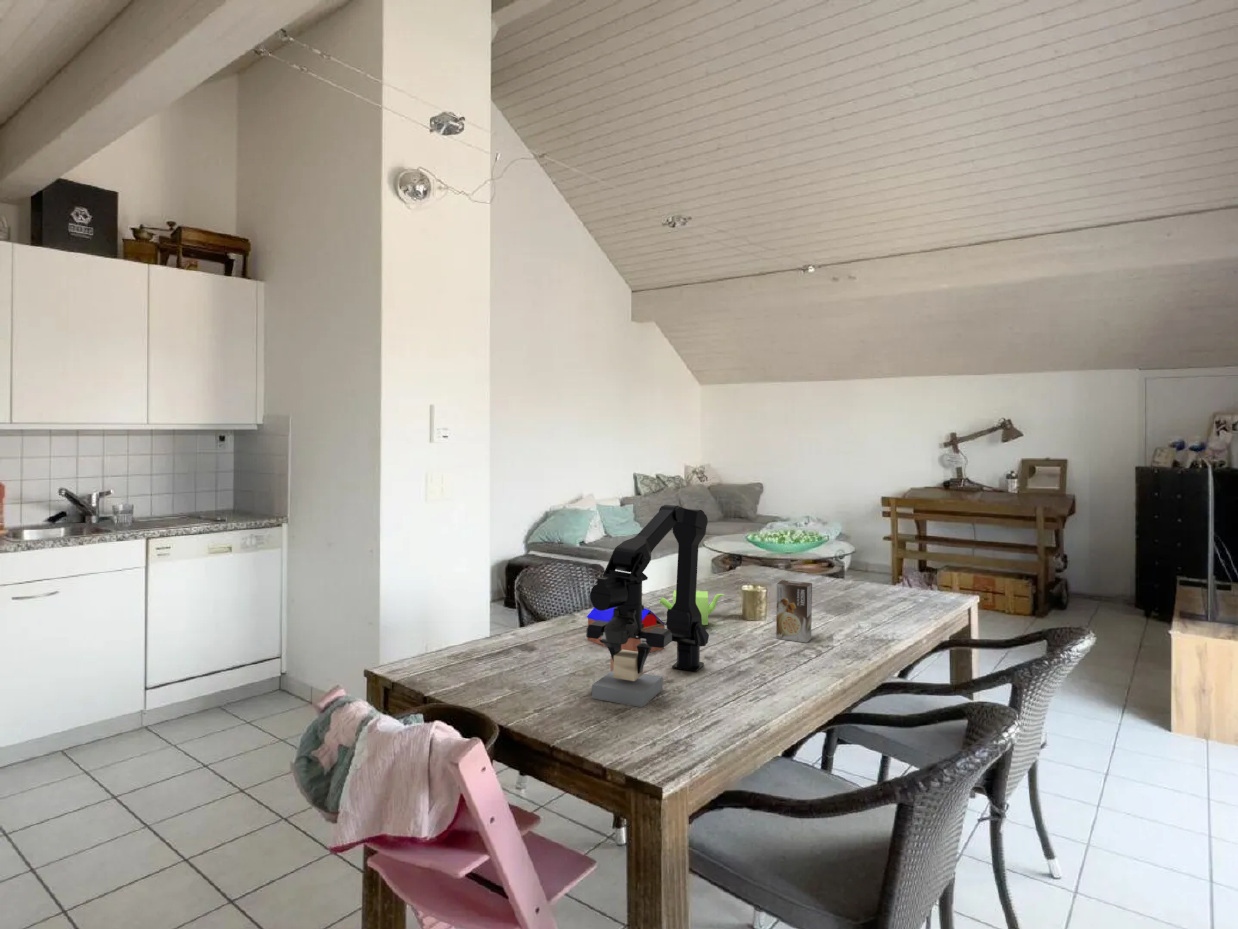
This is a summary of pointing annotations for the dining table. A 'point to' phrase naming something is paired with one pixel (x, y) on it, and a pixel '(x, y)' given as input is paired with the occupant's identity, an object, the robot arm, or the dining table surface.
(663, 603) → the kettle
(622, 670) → the birch cube
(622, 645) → the house
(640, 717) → the dining table surface
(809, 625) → the coffee box
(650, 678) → the slate board
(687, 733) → the dining table surface
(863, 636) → the dining table surface
